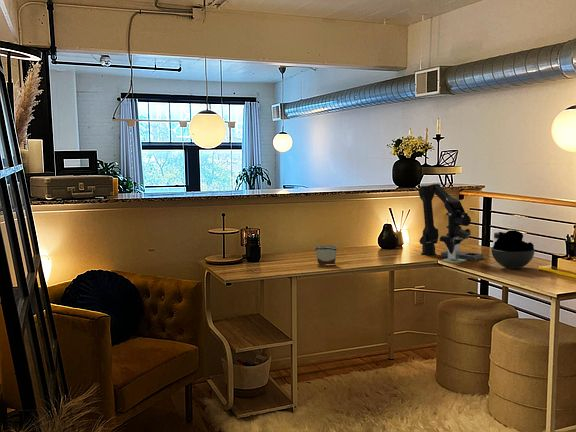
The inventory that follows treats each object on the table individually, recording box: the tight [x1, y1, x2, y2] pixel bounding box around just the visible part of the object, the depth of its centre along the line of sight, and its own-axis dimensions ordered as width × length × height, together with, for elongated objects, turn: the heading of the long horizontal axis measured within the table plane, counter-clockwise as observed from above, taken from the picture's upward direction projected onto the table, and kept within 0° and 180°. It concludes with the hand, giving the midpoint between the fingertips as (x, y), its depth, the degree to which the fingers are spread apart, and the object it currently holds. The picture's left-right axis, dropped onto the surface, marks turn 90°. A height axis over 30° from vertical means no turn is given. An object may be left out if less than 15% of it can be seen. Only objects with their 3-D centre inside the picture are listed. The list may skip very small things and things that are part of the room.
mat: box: [441, 258, 467, 264], centre depth 304 cm, size 10×8×1 cm
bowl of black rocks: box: [490, 229, 536, 270], centre depth 278 cm, size 20×20×19 cm
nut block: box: [448, 243, 461, 260], centre depth 303 cm, size 4×4×8 cm
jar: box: [492, 231, 506, 247], centre depth 317 cm, size 9×8×12 cm
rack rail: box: [440, 250, 484, 262], centre depth 311 cm, size 20×10×2 cm, turn 43°
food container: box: [314, 244, 338, 265], centre depth 304 cm, size 12×6×10 cm, turn 71°
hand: (453, 252), depth 303 cm, fingers closed on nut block, 4 cm apart
